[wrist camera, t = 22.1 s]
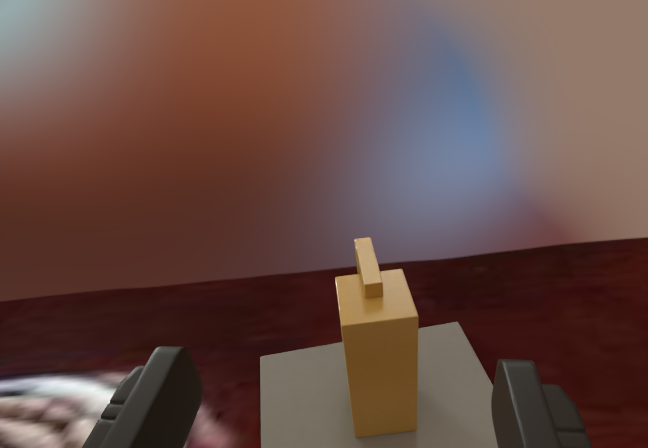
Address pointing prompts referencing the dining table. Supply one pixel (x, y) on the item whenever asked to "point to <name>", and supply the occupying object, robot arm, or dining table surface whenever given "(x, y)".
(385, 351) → the golden block with ridge
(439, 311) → the dining table surface
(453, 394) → the left mat
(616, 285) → the dining table surface
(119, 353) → the dining table surface
